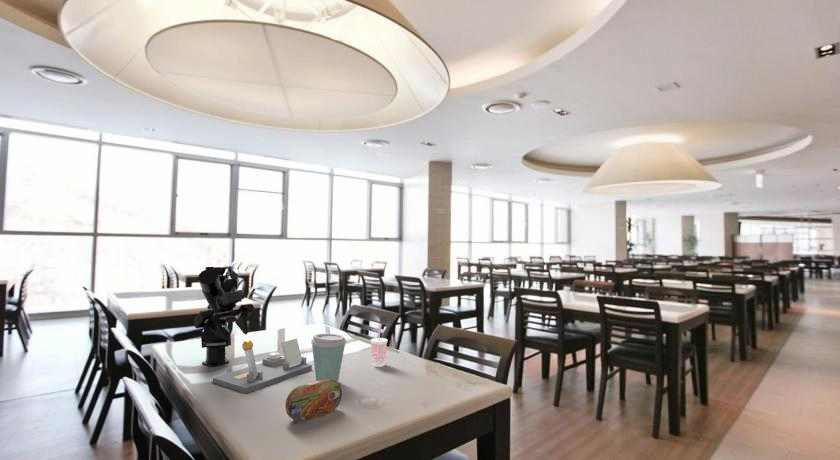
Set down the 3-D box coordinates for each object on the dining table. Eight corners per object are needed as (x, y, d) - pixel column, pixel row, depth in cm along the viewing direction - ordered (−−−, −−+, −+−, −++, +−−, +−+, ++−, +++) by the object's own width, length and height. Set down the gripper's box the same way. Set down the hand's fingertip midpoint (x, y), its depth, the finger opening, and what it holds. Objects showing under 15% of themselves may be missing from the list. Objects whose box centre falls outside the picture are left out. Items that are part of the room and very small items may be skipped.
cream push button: (266, 360, 140) (266, 354, 140) (274, 357, 143) (275, 351, 143) (273, 361, 138) (273, 355, 138) (281, 359, 141) (282, 353, 141)
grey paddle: (286, 366, 136) (281, 342, 137) (300, 361, 141) (294, 339, 142) (288, 365, 135) (283, 341, 137) (302, 361, 140) (296, 338, 142)
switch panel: (212, 382, 125) (212, 371, 125) (280, 361, 148) (280, 351, 148) (245, 393, 117) (246, 381, 117) (312, 369, 139) (312, 358, 140)
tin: (288, 426, 97) (289, 391, 97) (283, 422, 99) (284, 387, 99) (342, 409, 107) (343, 377, 108) (335, 405, 110) (336, 374, 110)
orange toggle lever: (246, 379, 123) (239, 342, 126) (255, 376, 126) (247, 340, 129) (253, 377, 122) (245, 340, 124) (262, 374, 125) (254, 338, 127)
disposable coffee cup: (333, 375, 134) (334, 329, 134) (351, 384, 126) (353, 335, 126) (303, 382, 126) (305, 334, 127) (321, 392, 119) (323, 341, 119)
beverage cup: (388, 362, 149) (389, 324, 149) (385, 367, 142) (386, 328, 143) (372, 361, 149) (372, 323, 150) (368, 367, 143) (369, 327, 143)
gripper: (200, 285, 124) (221, 325, 118) (252, 280, 140) (273, 315, 135) (184, 308, 128) (204, 348, 122) (237, 300, 144) (256, 336, 138)
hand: (236, 336), depth 129 cm, fingers open, 7 cm apart
